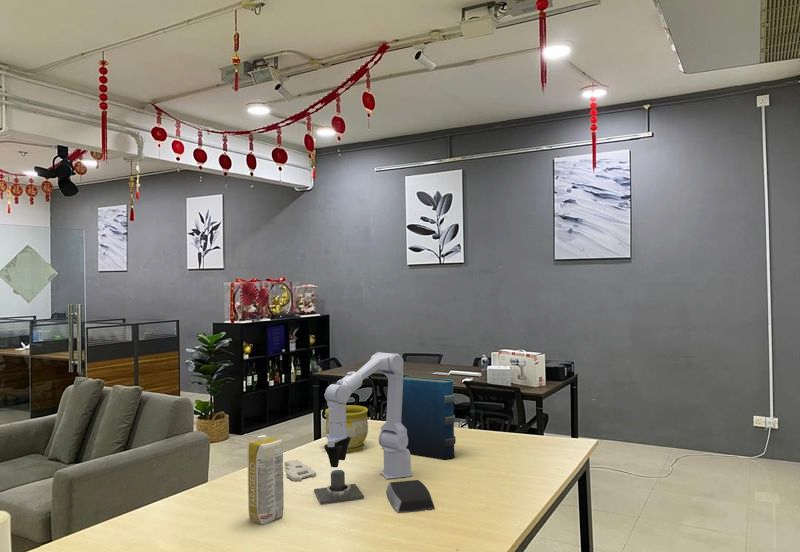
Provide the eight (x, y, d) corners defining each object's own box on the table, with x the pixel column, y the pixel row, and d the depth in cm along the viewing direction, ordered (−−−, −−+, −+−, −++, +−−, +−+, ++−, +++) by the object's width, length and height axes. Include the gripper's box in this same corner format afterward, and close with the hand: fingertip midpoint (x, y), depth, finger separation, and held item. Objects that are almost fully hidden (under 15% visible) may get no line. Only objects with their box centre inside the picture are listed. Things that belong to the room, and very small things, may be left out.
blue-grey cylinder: (334, 489, 190) (333, 469, 190) (346, 490, 189) (346, 470, 189) (328, 494, 186) (328, 473, 186) (341, 495, 185) (341, 474, 185)
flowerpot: (316, 450, 240) (316, 411, 240) (344, 440, 255) (344, 403, 255) (349, 457, 230) (349, 415, 230) (377, 446, 245) (376, 407, 245)
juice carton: (270, 510, 175) (269, 431, 176) (287, 516, 170) (286, 435, 171) (244, 520, 168) (243, 437, 169) (261, 527, 163) (260, 442, 164)
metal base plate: (355, 486, 195) (355, 479, 195) (364, 498, 184) (364, 490, 184) (314, 491, 191) (313, 484, 191) (320, 504, 179) (320, 496, 179)
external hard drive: (394, 515, 171) (394, 501, 171) (383, 493, 190) (383, 480, 190) (437, 511, 174) (437, 497, 174) (422, 489, 193) (422, 477, 193)
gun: (275, 460, 215) (300, 456, 221) (275, 469, 215) (299, 465, 221) (295, 475, 200) (321, 470, 206) (294, 485, 200) (320, 480, 206)
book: (460, 455, 230) (458, 379, 230) (450, 461, 222) (448, 382, 223) (408, 447, 242) (407, 375, 243) (397, 452, 235) (396, 378, 236)
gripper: (332, 416, 196) (333, 456, 195) (318, 426, 182) (318, 469, 181) (352, 416, 194) (353, 457, 194) (339, 427, 180) (340, 470, 180)
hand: (338, 463), depth 188 cm, fingers open, 7 cm apart
